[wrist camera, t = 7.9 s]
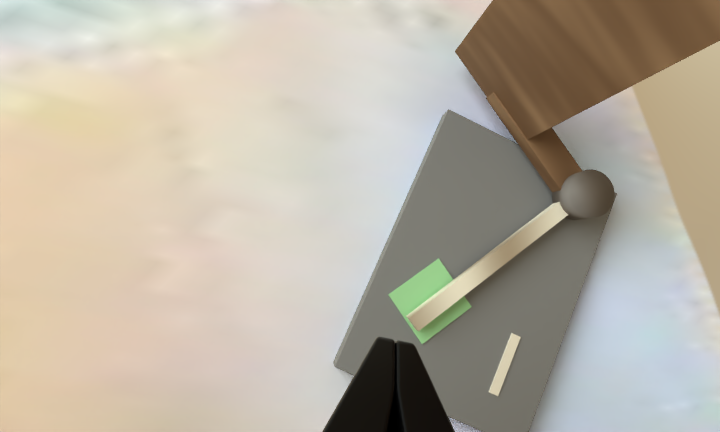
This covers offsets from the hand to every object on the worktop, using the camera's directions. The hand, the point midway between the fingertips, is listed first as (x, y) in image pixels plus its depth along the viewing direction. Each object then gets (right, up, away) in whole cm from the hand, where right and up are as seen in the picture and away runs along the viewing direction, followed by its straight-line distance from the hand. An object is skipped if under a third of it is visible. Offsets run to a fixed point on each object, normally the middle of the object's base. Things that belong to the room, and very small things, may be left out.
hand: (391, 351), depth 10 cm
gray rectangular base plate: (+6, 0, +14) cm, 15 cm away
